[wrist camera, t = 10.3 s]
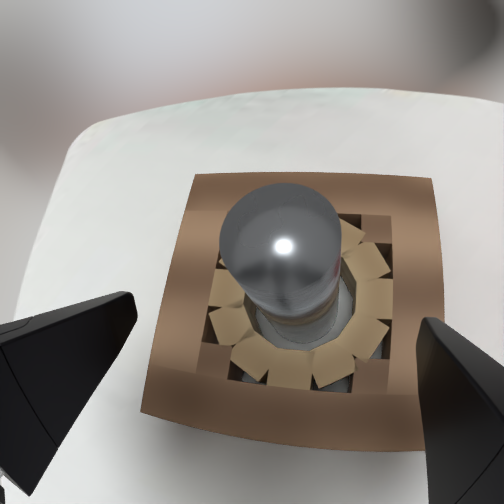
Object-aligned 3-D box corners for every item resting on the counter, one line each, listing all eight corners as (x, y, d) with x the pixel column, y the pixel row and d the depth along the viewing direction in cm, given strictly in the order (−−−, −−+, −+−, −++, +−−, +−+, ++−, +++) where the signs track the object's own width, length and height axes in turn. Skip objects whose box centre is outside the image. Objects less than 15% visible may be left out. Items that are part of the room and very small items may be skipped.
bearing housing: (418, 442, 15) (433, 450, 12) (164, 411, 19) (140, 412, 16) (422, 203, 21) (431, 178, 18) (209, 197, 25) (195, 174, 22)
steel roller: (305, 357, 18) (282, 320, 10) (256, 312, 20) (196, 242, 12) (351, 305, 19) (366, 224, 10) (300, 265, 21) (275, 165, 12)
